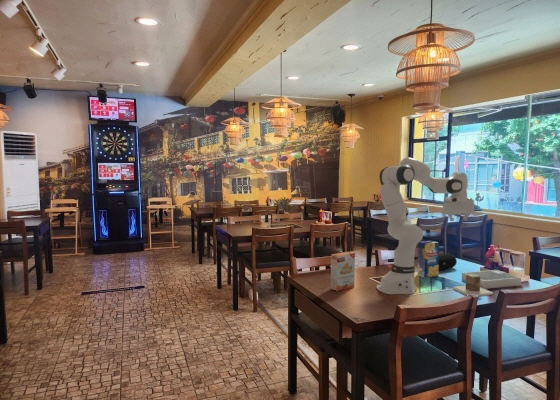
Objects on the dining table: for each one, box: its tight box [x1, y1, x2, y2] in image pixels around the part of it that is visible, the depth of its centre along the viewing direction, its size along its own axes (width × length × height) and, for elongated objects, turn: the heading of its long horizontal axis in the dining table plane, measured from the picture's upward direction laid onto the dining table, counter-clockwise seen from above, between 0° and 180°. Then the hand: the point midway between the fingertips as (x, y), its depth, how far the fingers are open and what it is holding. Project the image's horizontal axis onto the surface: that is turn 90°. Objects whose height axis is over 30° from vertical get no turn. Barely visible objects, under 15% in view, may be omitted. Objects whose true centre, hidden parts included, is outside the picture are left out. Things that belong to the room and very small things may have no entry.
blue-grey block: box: [491, 270, 506, 280], centre depth 217 cm, size 5×5×6 cm
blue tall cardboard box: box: [417, 240, 440, 278], centre depth 233 cm, size 7×11×22 cm, turn 108°
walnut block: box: [465, 274, 480, 291], centre depth 201 cm, size 5×5×8 cm
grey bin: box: [461, 269, 522, 290], centre depth 216 cm, size 26×18×5 cm
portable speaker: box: [439, 253, 458, 271], centre depth 247 cm, size 26×10×10 cm, turn 114°
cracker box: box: [330, 251, 356, 292], centre depth 209 cm, size 14×6×21 cm, turn 123°
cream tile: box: [453, 285, 494, 297], centre depth 201 cm, size 14×14×2 cm
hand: (458, 220), depth 222 cm, fingers open, 8 cm apart
